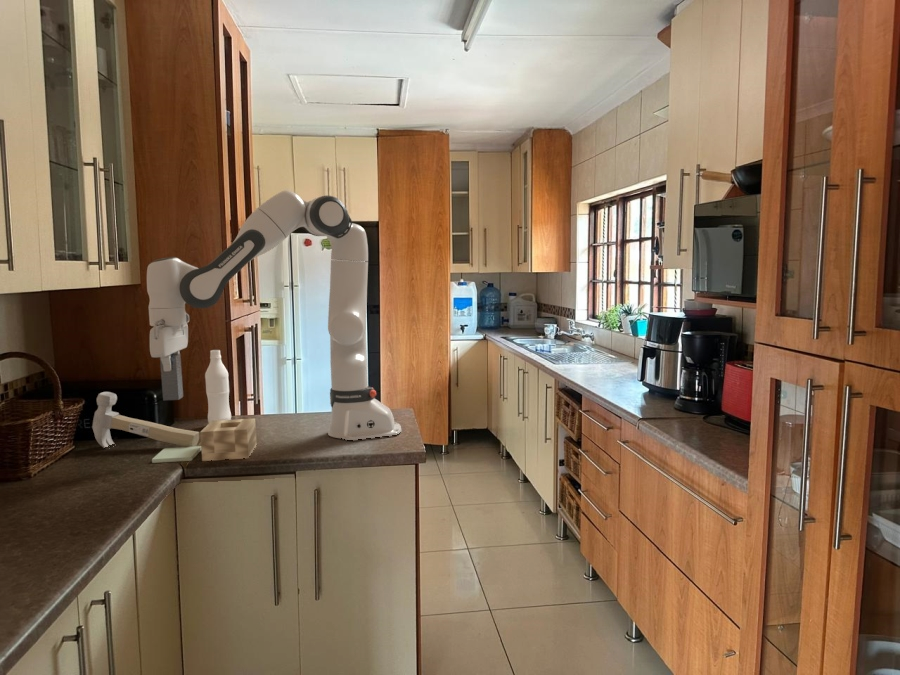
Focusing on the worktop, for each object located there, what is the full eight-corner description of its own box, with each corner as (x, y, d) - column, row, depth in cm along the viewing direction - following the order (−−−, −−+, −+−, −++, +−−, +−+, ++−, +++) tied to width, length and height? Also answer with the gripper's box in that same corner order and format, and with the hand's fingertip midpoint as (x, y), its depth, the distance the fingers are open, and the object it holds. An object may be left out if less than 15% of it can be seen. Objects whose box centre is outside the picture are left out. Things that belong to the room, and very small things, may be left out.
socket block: (256, 445, 172) (255, 418, 171) (248, 458, 160) (246, 429, 160) (213, 447, 171) (211, 420, 170) (202, 461, 159) (200, 431, 158)
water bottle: (203, 426, 194) (198, 351, 191) (223, 422, 200) (219, 348, 197) (216, 430, 190) (211, 352, 187) (236, 425, 195) (231, 350, 192)
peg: (183, 396, 164) (180, 353, 163) (178, 399, 160) (175, 355, 159) (168, 397, 163) (164, 354, 162) (163, 400, 160) (159, 356, 158)
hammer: (203, 413, 172) (105, 390, 174) (195, 417, 168) (95, 393, 169) (195, 464, 174) (98, 441, 176) (187, 469, 170) (87, 446, 171)
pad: (201, 449, 169) (201, 446, 169) (191, 460, 159) (191, 456, 159) (164, 451, 168) (164, 448, 168) (152, 462, 158) (151, 459, 158)
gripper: (167, 321, 149) (171, 375, 151) (191, 315, 170) (194, 363, 171) (140, 322, 149) (145, 376, 150) (167, 315, 169) (171, 363, 170)
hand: (171, 369), depth 161 cm, fingers closed on peg, 4 cm apart
